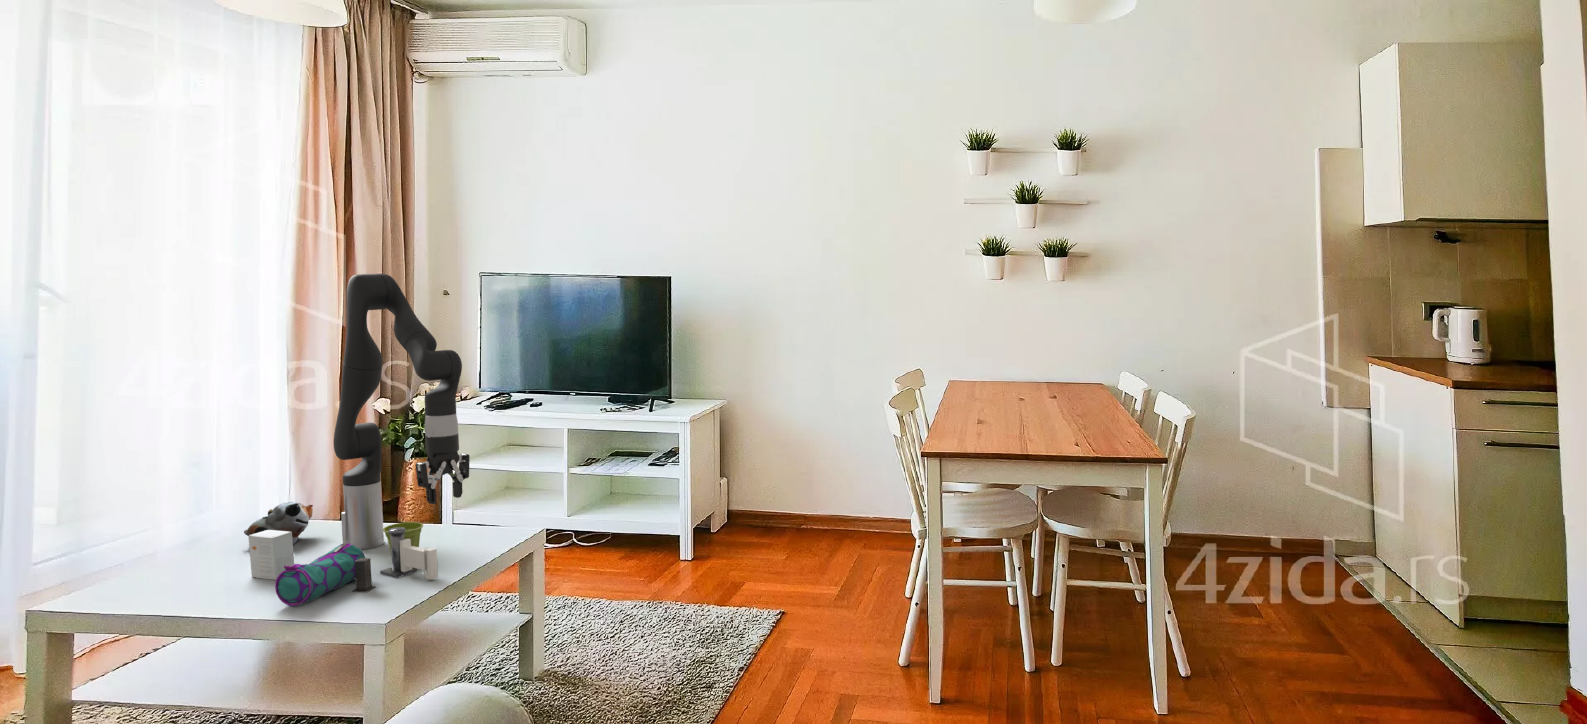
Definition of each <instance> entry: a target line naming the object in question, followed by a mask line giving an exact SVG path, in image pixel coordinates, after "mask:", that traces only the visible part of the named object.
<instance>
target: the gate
mask: <svg viewBox="0 0 1587 724" xmlns="http://www.w3.org/2000/svg"><path fill="white" fill-rule="evenodd" d="M400 560H401V571H402V572H406V571H409V570H412V567H413V568H417V569H418V570H421V571H424V578H425V579H426V580H431V581H432V580H435V579H438V577H439V575H438V558H437V548H433V547H429V548H423V547H420V546H419V547H415V546H411V539H404V540H401V541H400Z"/></svg>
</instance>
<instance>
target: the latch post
mask: <svg viewBox="0 0 1587 724" xmlns="http://www.w3.org/2000/svg"><path fill="white" fill-rule="evenodd" d="M371 560H372V559H371V557H370V558H369V557H365V558H360V559H358V560H356V561H355V577H356V578H355V588H354V589H352V591H351V592H352V593H369V592H370V591H372V590H373V589H375V588H376V587H377V585H373V582H372V581H373V580H372V562H371Z"/></svg>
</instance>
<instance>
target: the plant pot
mask: <svg viewBox="0 0 1587 724" xmlns="http://www.w3.org/2000/svg"><path fill="white" fill-rule="evenodd" d="M396 527H404V528H405V532H404V539H411V546H415V547H420V540H421V539H420V538H421V533H422V529H423V527H424V523H421V522H417V521H409V522H408V521H407V522H398V523H393V524H390V525H387V526H385V527H383V533H385V537H386V539H387V543H388V547H389V550H390V551H389V552H390V553H391V538H390V534H388V530H389V529H391V528H396Z"/></svg>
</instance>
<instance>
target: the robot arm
mask: <svg viewBox="0 0 1587 724" xmlns="http://www.w3.org/2000/svg"><path fill="white" fill-rule="evenodd" d="M346 287H347V288H346V331H345V332H346V333H345V343H344V344H345V345H344V353H343V354H344V355H343V361H342V362H343V363H342V375H341V389H340V399H339V407H338V413H337V417H336V422H335V428H334V435H333V450H334V451H333V452H334V454H335V457H337V458H338V459H339V460H342V461H348V460H355V459H361V460H360V462H359V463H358V464H357V465H356V466H354V467H353V468H351V469H349V470H348V471H345V473H343V475H342V489H343V490H342V491H343V506H344V511H342V512H341V514H340V518H341V534H342V535H341V536H342V537H341V538H342V544H343V543H344V542H345V543H346V544H348V543H350V544H351V545H354V546H356V547H357V548H359V549H361V550H367V549H372V548H376V547H379V546H382V545H383V544H385V543H384V542H385V538H384V537H385V536H384V531H383V529H384V516H383V500H382V498H383V497H382V482H381V475H382V435H381V430H380V427H378V425H377V424H376V423H374V422H362V423H357V419H358V416H359V414H360V412H361V410H362V409H363V407H364V406H365V405H366V404H367V402H368V400H370V398H371V397H372V396H373V395H374V393H375V392H376V390H377V389H378V387H379V386H380V384H381V378H382V372H383V371H382V369H383V360H384V359H383V355H382V352H381V350H380V349H379V347H378V345H377V344H376V342H375V340H374V339H373V337H372V335H371V334H370V332H369V329H368V313H369V311H377V310H387V311H390V312H391V313H392V314H393V315H394V322H393V333H394V336H395V339H396V340H397V341H398V343H399V344H400V346H402V348H404V351H405V352H407V354H408V355H409V358H410V360H411V362H412V367H413V369H414V371H415V374H416V375H417V377H419V378H420V379H422V380H424V381H430V382H431V381H439V380H440V381H439V382H438V383H439V384H438V385H437V387H435V388H434V389H431V390H428V391H427V392H425V395H424V412H425V414H424V417H425V419H424V434H425V436H424V438H425V453H426V454H427V459H426V460H425V461H422V462H416V463H415V473H416V481H417V482H416V483H417V487H420V488H425V491H426V494H425V495H426V502H427V503H428V504H429V505H436V504H437V488H436V486H437V483H438V481H439V480H440V479H441V476H444V475H447V474H448V475H449V476H450V477H451V479H452V481H453V482H452V496H453V497H454V498H455V499H456V498H458V499H459V498H461V497H462V495H463V492H464V490H463V482H464V480H465V479H469V478H470V454H467V453H459V452H458V451H459V450H460V439H459V435H460V434H459V421H458V416H457V393H458V390H459V389H458V388H459V384H460V380H461V375H462V371H463V362H462V359H461V357H460V355H459V354H458V353H457V352H456V351H455V350H452V349H443V350H437V345H438V343H437V340H436V338H435V336H433V334H432V333H431V332H430V331H429V330H428V329H427V328H426V326H424V325H423V323H422V322H421V321H420V319H419V318H418V317H417V316H416V314H415V312H414V310H413V308H412V307H411V305H410V303H409V301H408V300H407V299H408V298H406V296H405V294H404V293H403V291H402V288H401V287H400V286H399V284H398V283H397V281H396V280H395V279H394V278H393V277H392V276H391V275H389V274H387V273H366V274H365V273H361V274H360V273H359V274H354V275H352V276H351V277H350V279H349V281H348V282H347V286H346Z"/></svg>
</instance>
